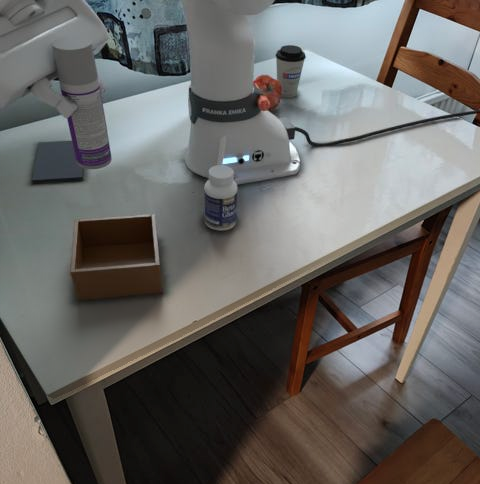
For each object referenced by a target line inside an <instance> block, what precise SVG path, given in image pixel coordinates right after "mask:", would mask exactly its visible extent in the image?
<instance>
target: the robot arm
mask: <svg viewBox="0 0 480 484" xmlns="http://www.w3.org/2000/svg"><path fill="white" fill-rule="evenodd" d="M275 1H276V0H181V6H182V10H183V15H184V20H185V25H186V32H187V38H188V46H189V47H188V48H189V49H188V50H189V71H190V72H189V73H190V76H189V77H190V85H189V86H188V95H187V107H188V117H189V120H190V130H189V139H188V144H187V150H186V153H185V156H184V162H185V165H186V166H187V168H188V169H189V170H190V171H192V172H193V173H194V174H195V175H198V176H201V177H204V178H206V179H209V178H208V176H209V169H210V168H211V167H213V166H216V165H225V166H228V167H230V168H232V169H233V171H234V179H233V180H234V181H235V182H236V184H237V186H238V185H244V184H249V183H255V182H260V181H266V180H271V179H277V178H283V177H289V176H293V175H296V174H297V173H298V172H299V171H300V168H301V159H300V154H299V152H298V150H297V148H296V146H295V145H294V144H293V143H292V142H291V141H292V140H295V136H296V132H298V133H301V134H302V135H304V137H305V139H306V142H307V144H308V145H310V146H312V147H331V146H336V145H339V144H340V145H341V144H345V143H350V142H354V141H359V140H362V139H366V138H369V137H373V136H376V135H380V134H381V135H382V134H384V133H388V132H392V131H396V130H399V129H400V130H401V129H405V128H407V127H412V126H417V125H421V124H425V123H430V122H431V123H432V122H435V121H441V120H445V119H452V118H457V117H465V116H469V115H471V116H472V115H479V114H480V109H478V110H470V111H463V112H455V113H451V114H444V115H439V116H433V117H429V118H424V119H420V120H415V121H410V122H406V123H402V124H398V125H394V126H391V127H387V128H382V129H379V130H374V131H370V132H368V133H364V134H361V135H357V136H352V137H348V138H342V139H337V140H334V141H329V142H324V143H321V142H320V143H319V142H315V141H312V140H311V137H310V134H309V133H308V131H306V130H305V129H304V128H301V127H298V126H295V125H294V124H293V123H292V122H291V120H290V119H289V118H288V117H286V116H284V117H278V116H276V115H275V114H274V113H272V112H270V110H268V108H270V107H269V106H270V102H269V101H268V98H267V97H266V96H264V94H263V92H262V90H261V89H259V87H258V86H257V84H256V83H255V85H253V81H254V76H255V59H256V58H255V56H256V42H255V36H254V32H253V31H252V28H251V24H250V20H249V16H255V15H258V14H260V13H262V12H264V11H266V10H267V9H269V8H270V7H271V6H272V4H273V3H274V2H275ZM66 36H82V37H86V38H88V39H90V40H91V42H92V47H93V52H94V56H96V55H98V54H99V53H100V51H102V49H103V48H104V47H105V45H106V44H107V43H108V41H109V39H110V38H109V34H108V29H107V28H106V25H105V24H104V22H103V21H102V20H101V18H100V17H99V15H98V14H97V13H96V12H95V10H93V8H92V7H91V6H90V4H89V3H88V2H87V1H86V0H0V108H1V109H5V108H7V107H8V106H10V105H12V104H14V103H15V102H17V101H18V100H20V99H23V98H24V97H25V96H27V95H29V94H31V93H32V94H33V96H34V97H35V98H36V99H37V101H39V102H42V103H44V104H46V105H48V106H50V107H52V108H54V109H56V110H57V111H58V113H59V114H60V115H61V117H63V118H65V119H67V118H69V117H70V116H71V115H73V114H74V113H75V112H76V111H77V110H78V108H79V107H78V105H77V103H76V102H74V101H73V99H72V98H71V97H70V96H69V95H68V96H66V97H65V98H64V96H63V95H62V93H59V91H57V90H55V89H53V88H52V87H53V84H52V82H51V81H53V80H55V79H57V78H58V73H57V67H56V62H55V57H54V52H53V47H52V42H53V41H54V40H56V39H58V38H61V37H66ZM97 74H98V72H97ZM98 75H99V74H98ZM98 79H99V84H100V90H101V96H102V95H104V94H105V92H106V91H107V86H106V84H105V83H104V82H103V80H101V78H100V77H99V76H98Z"/></svg>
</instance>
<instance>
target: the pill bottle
mask: <svg viewBox="0 0 480 484" xmlns="http://www.w3.org/2000/svg"><path fill="white" fill-rule="evenodd" d="M233 179H234V171H233V169H232V168H230V167H228V166H225V165H216V166H213V167H211V168H210V169H209V176H208V178H207V180H206V182H205V184H204V188H203V190H204V191H203V193H204V197H203V198H204V199H203V201H204V223H205V225H206V226H207V228H209V229H211V230H214V231H220V232H222V231H228V230H231V229H232V228H234V226H236V223H237V214H238V213H237V212H238V211H237V210H238V185H237V184H236V182H235V181H234V180H233Z"/></svg>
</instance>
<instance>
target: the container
mask: <svg viewBox="0 0 480 484" xmlns="http://www.w3.org/2000/svg"><path fill="white" fill-rule="evenodd" d="M52 47H53V52H54V57H55V62H56V67H57V73H58V77H57V78H58V83H59V89H60V94H61V95H63V96H64V98H65V97H66V96H68V95H69V96H70V97H71V98H72V99H73V101H74V102H76V103H77V105H78V107H79V108H78V110H77V111H76V112H75V113H74V114H73V115H71V116H70V117H69V118H66V120H67V124H68V130H69V133H70V139H71V141H72V143H73V148H74V152H75V157H76V161H77V164H78V165H79V166H80V167H82V168H84V169H85V170H99V169H103V168H105V167H107V166H108V165H110V164H111V163H112V153H111V146H110V139H109V134H108V128H107V127H108V126H107V122H106V115H105V108H104V103H103V97H102V95H101V90H100V84H99V79H100V78H99V79H98V77H99V74H97V73H98V69H97V68H98V67H97V65H96V59H95V55H94V52H93V47H92V42H91V40H90V39H88V38H86V37H82V36H66V37H61V38H58V39H56V40H54V41H53V42H52Z"/></svg>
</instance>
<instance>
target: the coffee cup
mask: <svg viewBox="0 0 480 484" xmlns="http://www.w3.org/2000/svg"><path fill="white" fill-rule="evenodd" d="M306 58H307V56H306V53H305V52H304V51H303V49H302V48H301V47H300V46H298V45H293V44H287V45H282V46H281V47H280V49H278V50H277V51H276V53H275V61H276V80H278V81H279V82H280V84H281V87H282V90H281V98H293V97H296V96H297V93H298V89H299V85H300V81H301V75H302V71H303V67H304V62H305V60H306Z"/></svg>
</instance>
